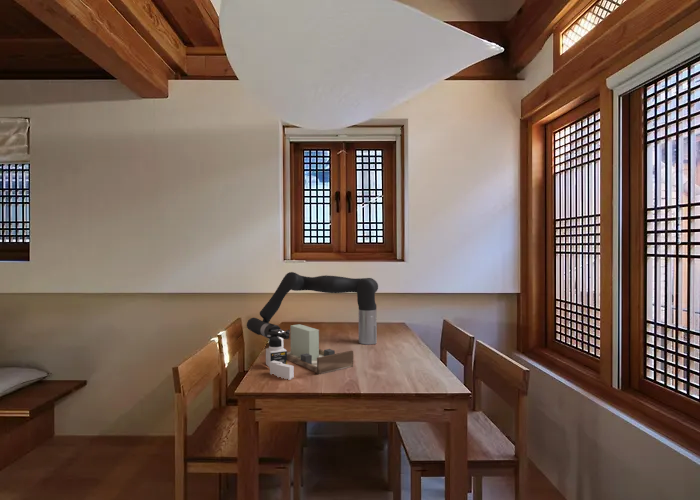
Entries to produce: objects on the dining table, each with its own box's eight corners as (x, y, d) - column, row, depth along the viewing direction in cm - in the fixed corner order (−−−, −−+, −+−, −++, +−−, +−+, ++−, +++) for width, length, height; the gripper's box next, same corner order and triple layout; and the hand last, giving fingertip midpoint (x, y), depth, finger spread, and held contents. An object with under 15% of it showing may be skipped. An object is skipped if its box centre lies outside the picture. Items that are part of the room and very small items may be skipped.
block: (290, 353, 196) (290, 325, 196) (299, 351, 199) (299, 324, 199) (309, 361, 184) (309, 331, 183) (318, 359, 187) (318, 329, 186)
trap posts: (300, 363, 180) (300, 354, 180) (329, 357, 189) (329, 348, 189) (305, 366, 177) (305, 356, 177) (334, 359, 186) (334, 350, 186)
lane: (275, 355, 195) (275, 341, 195) (307, 349, 206) (307, 336, 205) (318, 374, 167) (318, 358, 167) (353, 366, 178) (353, 351, 177)
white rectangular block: (299, 381, 161) (299, 366, 160) (269, 384, 157) (269, 369, 157) (292, 369, 175) (292, 356, 175) (265, 372, 171) (264, 358, 171)
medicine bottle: (270, 369, 174) (270, 340, 173) (265, 365, 180) (265, 336, 180) (287, 367, 177) (287, 338, 177) (281, 362, 183) (281, 335, 183)
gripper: (258, 325, 213) (275, 331, 199) (281, 322, 221) (299, 327, 208) (258, 340, 213) (275, 346, 200) (282, 336, 221) (299, 342, 208)
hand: (287, 336), depth 204 cm, fingers closed
